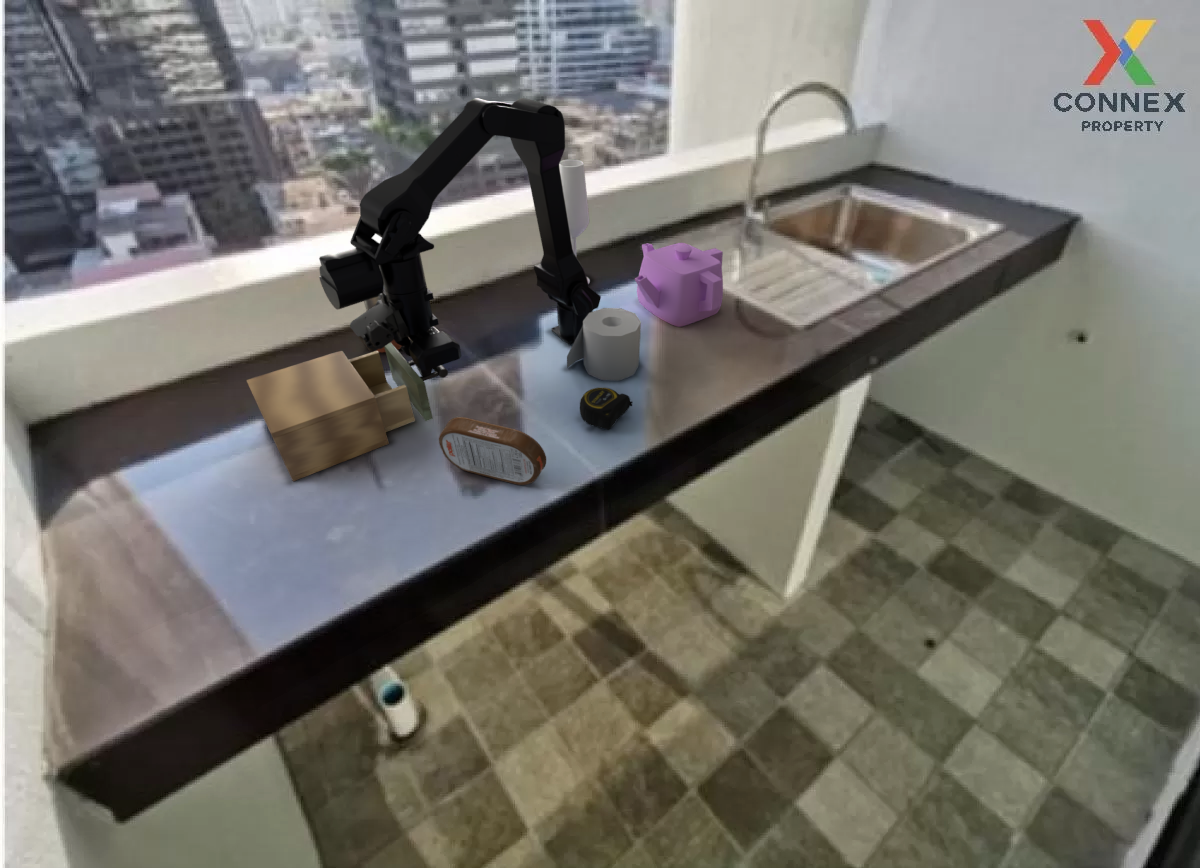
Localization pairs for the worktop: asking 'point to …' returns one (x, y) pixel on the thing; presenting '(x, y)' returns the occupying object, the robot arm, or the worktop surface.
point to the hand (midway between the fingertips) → (425, 376)
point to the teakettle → (680, 283)
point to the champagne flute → (575, 198)
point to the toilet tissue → (608, 344)
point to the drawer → (398, 399)
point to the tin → (492, 450)
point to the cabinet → (319, 413)
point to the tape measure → (603, 407)
